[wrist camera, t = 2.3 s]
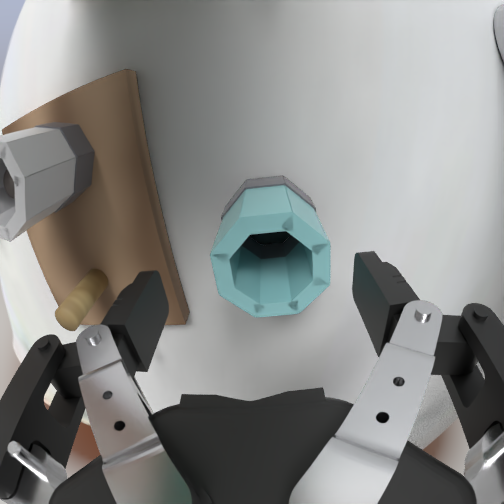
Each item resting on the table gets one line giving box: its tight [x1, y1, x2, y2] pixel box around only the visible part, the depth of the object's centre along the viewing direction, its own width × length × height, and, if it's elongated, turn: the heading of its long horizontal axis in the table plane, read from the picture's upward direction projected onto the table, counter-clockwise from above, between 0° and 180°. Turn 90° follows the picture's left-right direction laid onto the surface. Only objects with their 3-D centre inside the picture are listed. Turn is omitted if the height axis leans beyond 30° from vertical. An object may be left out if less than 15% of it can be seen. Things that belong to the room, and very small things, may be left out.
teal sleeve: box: [210, 176, 330, 317], centre depth 16 cm, size 5×5×6 cm
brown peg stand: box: [2, 69, 189, 331], centre depth 16 cm, size 12×18×6 cm, turn 7°
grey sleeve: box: [0, 122, 95, 242], centre depth 13 cm, size 5×5×6 cm
